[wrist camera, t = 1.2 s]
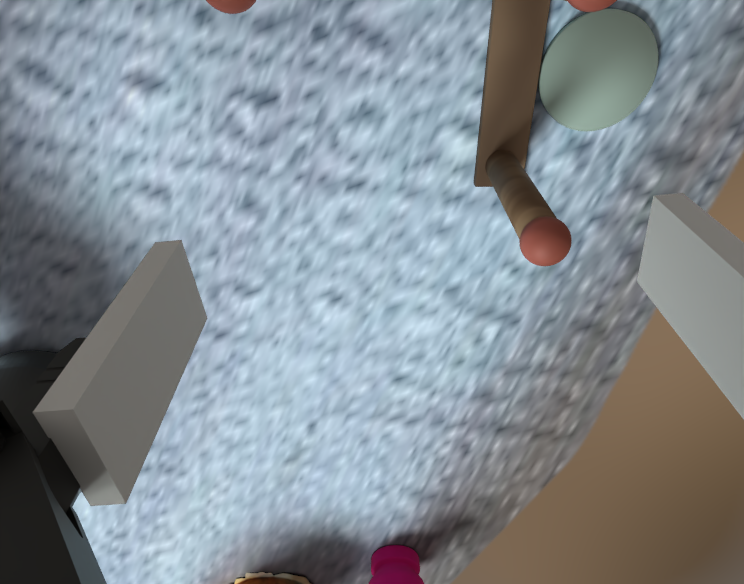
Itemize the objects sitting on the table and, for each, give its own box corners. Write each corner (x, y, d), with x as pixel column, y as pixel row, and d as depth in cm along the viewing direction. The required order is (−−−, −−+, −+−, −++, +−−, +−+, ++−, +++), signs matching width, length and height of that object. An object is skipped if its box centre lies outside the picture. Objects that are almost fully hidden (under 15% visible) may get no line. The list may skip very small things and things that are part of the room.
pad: (530, 129, 40) (532, 131, 40) (548, 8, 36) (551, 9, 36) (637, 128, 40) (640, 131, 40) (668, 8, 36) (673, 9, 36)
